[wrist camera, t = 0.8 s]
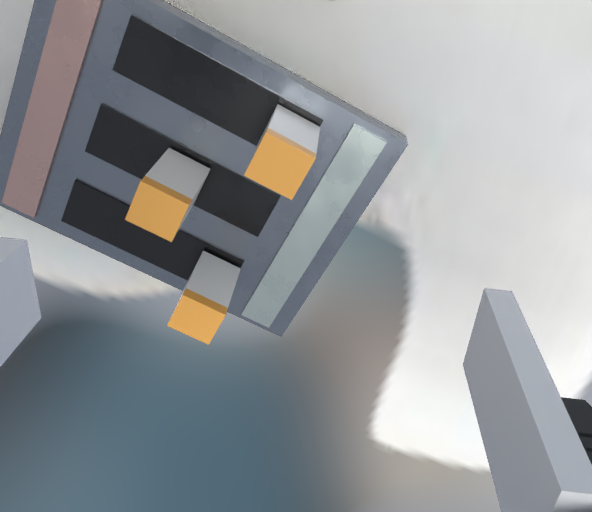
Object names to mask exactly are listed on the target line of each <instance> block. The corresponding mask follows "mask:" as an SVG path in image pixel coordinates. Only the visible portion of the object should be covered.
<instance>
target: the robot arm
mask: <svg viewBox="0 0 592 512" xmlns="http://www.w3.org/2000/svg"><path fill="white" fill-rule="evenodd" d="M40 319H41V313H40V308H39V302H38V297H37V292H36V286H35V281H34V276H33V271H32V266H31V260H30V255H29V250H28V245H27V240H22V239H13V238H3V237H1V238H0V366H1V365H2V364H3V363H4V362H5V360H6V359H7V358H8V357H9V356H10V355H11V353H12V352H13V351H14V350H15V348H16V347H17V346H18V345H19V344H20V342H21V341H22V340H23V339H24V338H25V336H26V335H27V334H28V333H29V332H30V331H31V329H32V328H33V327H34V326H35V325H36V323H37V322H38V321H39V320H40ZM463 367H464V371H465V375H466V378H467V382H468V386H469V390H470V394H471V398H472V401H473V405H474V409H475V413H476V417H477V420H478V424H479V428H480V432H481V436H482V440H483V443H484V447H485V451H486V455H487V459H488V463H489V466H490V470H491V474H492V478H493V481H494V485H495V489H496V493H497V497H498V501H499V505H500V508H501V512H592V407H591V406H590V405H589V404H588V403H587V402H586V401H585V400H579V399H571V398H562V397H560V395H559V392H558V390H557V388H556V386H555V384H554V382H553V379H552V377H551V375H550V373H549V371H548V369H547V366H546V364H545V362H544V360H543V358H542V355H541V353H540V351H539V349H538V347H537V345H536V342H535V340H534V338H533V336H532V334H531V331H530V329H529V327H528V325H527V323H526V321H525V318H524V316H523V314H522V312H521V310H520V308H519V305H518V303H517V301H516V299H515V297H514V294H513V292H512V291H506V290H497V289H487V288H484V291H483V294H482V298H481V301H480V305H479V309H478V312H477V316H476V319H475V323H474V327H473V330H472V334H471V337H470V341H469V344H468V348H467V352H466V355H465V359H464V362H463Z"/></svg>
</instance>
